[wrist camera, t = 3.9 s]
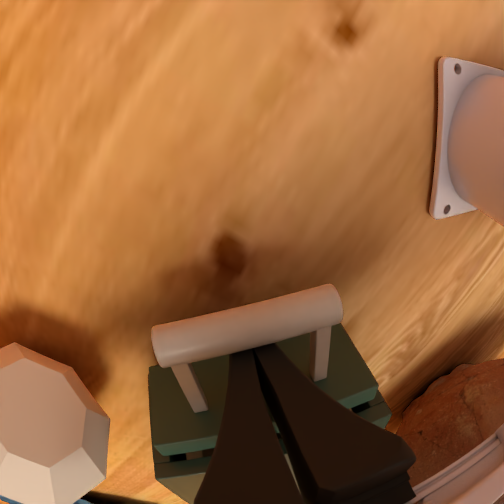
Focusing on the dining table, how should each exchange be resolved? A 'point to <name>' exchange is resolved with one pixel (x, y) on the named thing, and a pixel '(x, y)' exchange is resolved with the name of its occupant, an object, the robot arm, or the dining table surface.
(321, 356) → the green drawer
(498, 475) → the robot arm
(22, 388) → the chicken leg
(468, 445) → the jug
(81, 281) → the dining table surface
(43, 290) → the dining table surface
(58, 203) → the dining table surface
